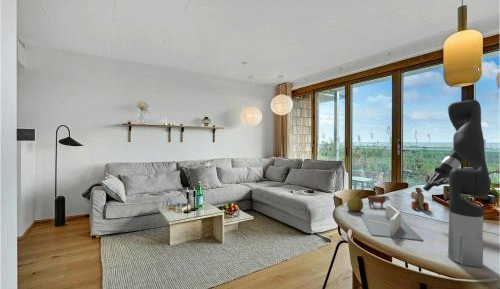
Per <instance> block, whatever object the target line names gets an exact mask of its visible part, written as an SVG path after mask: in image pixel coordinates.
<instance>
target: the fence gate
mask: <svg viewBox="0 0 500 289" xmlns="http://www.w3.org/2000/svg"><path fill="white" fill-rule="evenodd" d="M385 205H386V206H385V207H386V208H385V216H386V217H387V218H389V219H391V218H392V217H393V216H394V215H395V214H396V212H400V211H399V210H398V209H396V208H395V207H394V206H392V205H391V204H387V203H386V204H385Z"/></svg>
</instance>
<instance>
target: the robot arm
mask: <svg viewBox="0 0 500 289" xmlns="http://www.w3.org/2000/svg"><path fill="white" fill-rule="evenodd" d="M447 113H448V118H449V121H450V122H451V124H452V126H453V127H454V129H455V133H454V134H453V138H452V139H453V141H452V142H453V144H452V145H453V148H452V150H451V151H450V152H449V153H448V155H447V156H445V157H444V158H443V159H442V160H441V161H440V162H439V163H438V164H437V165H436V166H434V167H435V168H434V171H433V172H431V174H428V173H426V175H425V180H424V181H425V183H426V184H425V185H424V186H423V188H422V189H423V190H424V191H425V192H429V191H430V190H432V188H434V187H440V186H441V185H445V184H447V183H448V184H449V188H448V189H449V208H448V210H449V211H448V240H447V242H448V244H447V247H448V253H447V255H448V258H449V259H450V260H452V261H454V262H456V263H457V264H460V265H461V266H469V267H476V268H484V238H483V237H484V236H483V234H484V212H485V211H484V208H483V207H482V206H480V205H478V204H475V203H473V202H470V201H469V200H466V199H465V198H464V197H462V195H467V196H468V195H469V196H478V197H486V196H488V195H489V194H490V192H491V179H490V173H489V169H488V166H487V160H486V153H485V152H486V150H485V140H484V133H483V129H482V108H481V104H480V102H479V101H478V99H467V100H462V101H455V102H452V103H449V105H448V108H447ZM464 162H466V163H468V164H469V165H470V167H471V168H459V167H460V166H461V164H462V163H464Z"/></svg>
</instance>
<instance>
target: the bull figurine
mask: <svg viewBox="0 0 500 289" xmlns="http://www.w3.org/2000/svg"><path fill="white" fill-rule="evenodd" d="M367 200H368V201H367V202H368V206H369V207H373V208H376V206H375V205H376V204H378V203H379V204H380V208H383V207H384V204H385V203H386V202H387V201H391V197H390V196H389V195H388V194H386V195H385V194H383V195H368V197H367Z"/></svg>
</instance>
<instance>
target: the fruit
mask: <svg viewBox="0 0 500 289" xmlns="http://www.w3.org/2000/svg"><path fill="white" fill-rule="evenodd" d="M359 194H361V191H359V192H357V193H355V194H353V195H352V196H351V197H350V198H349V199H348V200H347V202H346V207H347V209H348V211H350V212H356V213H357V212H361V211H362V210H363V208H364V202H363V199H362V197H361V196H360V195H359Z"/></svg>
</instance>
